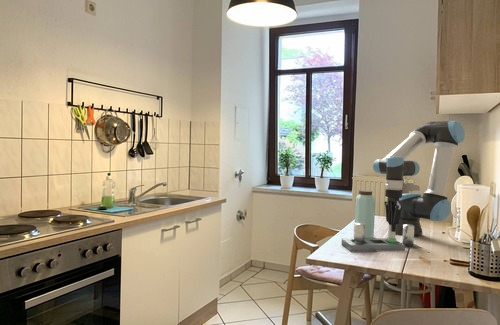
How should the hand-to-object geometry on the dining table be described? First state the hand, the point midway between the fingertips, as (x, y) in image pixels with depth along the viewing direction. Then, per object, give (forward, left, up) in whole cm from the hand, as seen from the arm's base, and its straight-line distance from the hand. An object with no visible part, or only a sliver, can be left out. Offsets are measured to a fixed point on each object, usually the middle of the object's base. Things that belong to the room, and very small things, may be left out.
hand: (391, 237), depth 174 cm
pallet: (+9, 0, -5) cm, 11 cm away
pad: (-10, -2, -5) cm, 11 cm away
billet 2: (-10, -2, -4) cm, 11 cm away
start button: (0, 0, -3) cm, 3 cm away
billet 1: (+16, 0, -3) cm, 17 cm away
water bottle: (+5, -19, -5) cm, 20 cm away
